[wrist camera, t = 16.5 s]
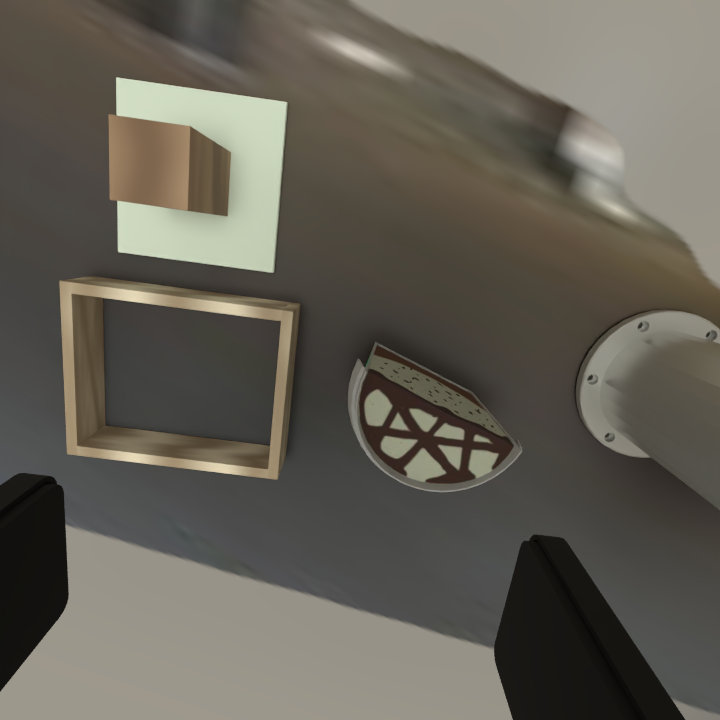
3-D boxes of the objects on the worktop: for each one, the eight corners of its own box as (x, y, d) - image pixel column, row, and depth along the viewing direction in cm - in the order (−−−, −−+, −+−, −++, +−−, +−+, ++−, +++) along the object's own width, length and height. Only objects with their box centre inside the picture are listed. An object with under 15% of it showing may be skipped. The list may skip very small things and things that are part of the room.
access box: (300, 303, 36) (293, 311, 32) (285, 455, 40) (277, 479, 36) (92, 276, 36) (59, 280, 32) (96, 432, 39) (67, 454, 35)
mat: (287, 104, 32) (286, 102, 32) (274, 272, 35) (273, 272, 35) (119, 79, 32) (116, 77, 31) (121, 251, 35) (117, 251, 35)
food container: (325, 395, 38) (312, 449, 29) (359, 333, 37) (357, 367, 27) (450, 457, 40) (478, 528, 30) (487, 399, 38) (529, 454, 29)
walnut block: (231, 152, 33) (190, 126, 25) (227, 216, 34) (187, 210, 26) (169, 143, 33) (108, 114, 25) (167, 208, 34) (109, 199, 26)
